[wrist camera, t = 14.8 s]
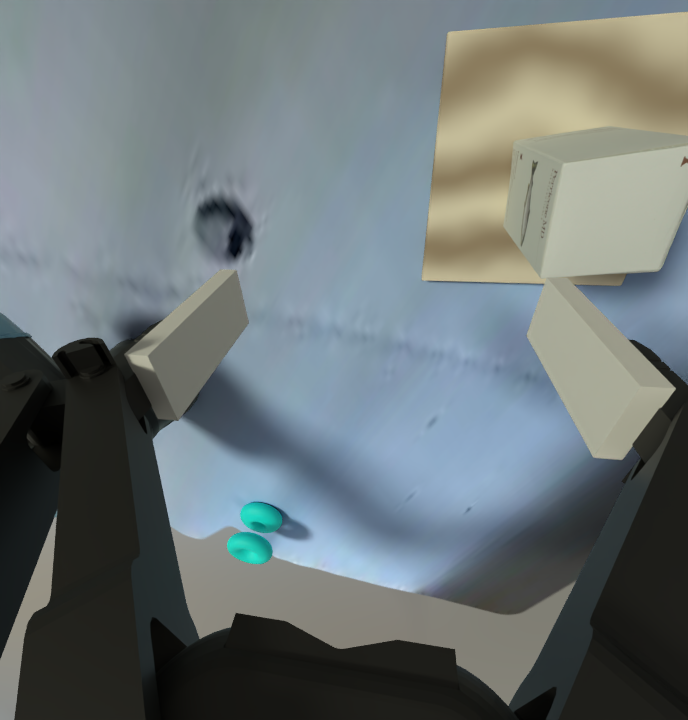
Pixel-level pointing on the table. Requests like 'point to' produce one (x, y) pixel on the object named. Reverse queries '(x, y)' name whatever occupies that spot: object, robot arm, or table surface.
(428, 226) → the birch board
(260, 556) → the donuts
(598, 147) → the supplement box
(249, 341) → the table surface
